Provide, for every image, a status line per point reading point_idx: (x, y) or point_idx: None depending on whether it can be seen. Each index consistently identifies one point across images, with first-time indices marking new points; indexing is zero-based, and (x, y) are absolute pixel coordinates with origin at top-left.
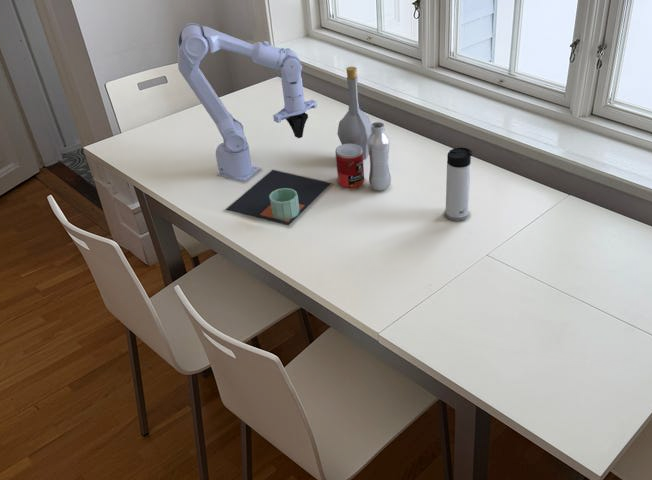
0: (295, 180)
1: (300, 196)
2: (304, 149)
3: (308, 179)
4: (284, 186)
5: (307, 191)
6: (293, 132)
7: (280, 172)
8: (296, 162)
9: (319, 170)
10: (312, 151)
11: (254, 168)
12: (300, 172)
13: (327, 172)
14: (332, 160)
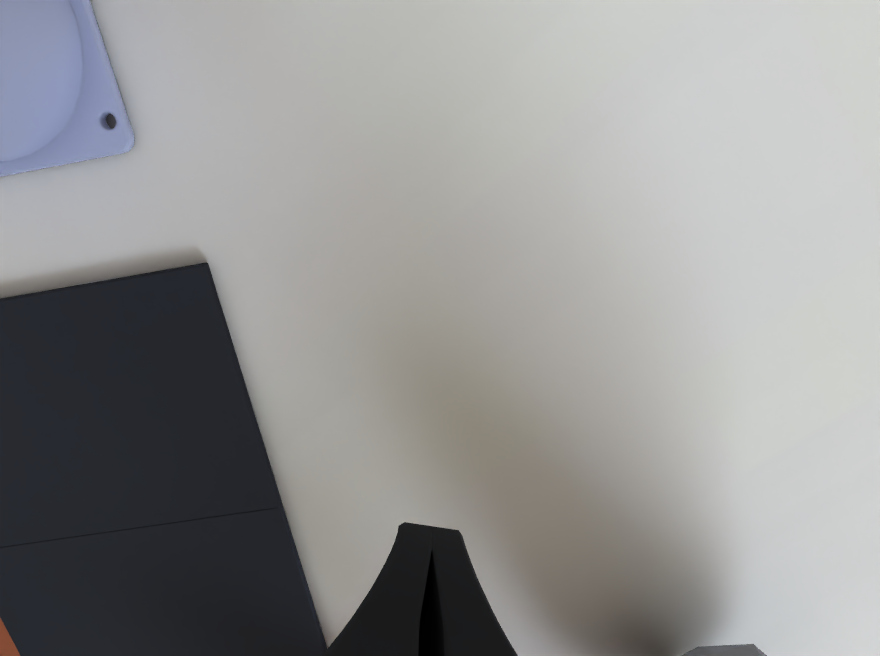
0: (207, 508)
1: (93, 641)
2: (666, 232)
3: (278, 565)
4: (98, 498)
5: (164, 641)
6: (391, 551)
7: (216, 346)
8: (435, 327)
9: None
10: (666, 316)
11: (96, 115)
12: (332, 449)
13: None
14: (610, 525)
